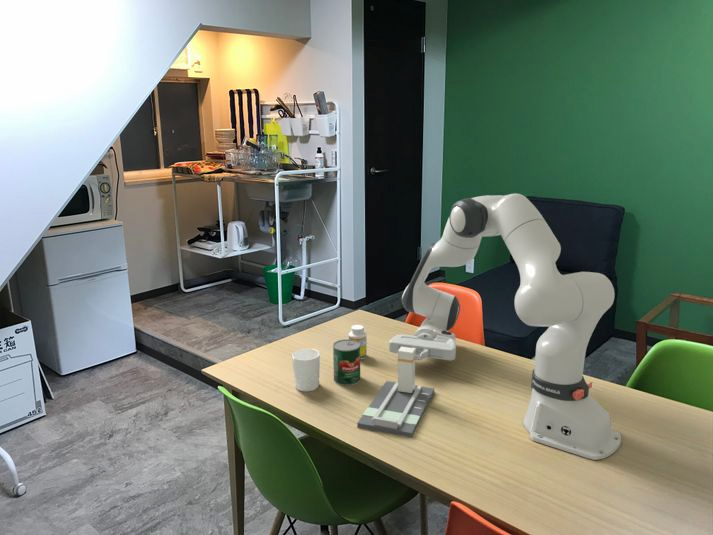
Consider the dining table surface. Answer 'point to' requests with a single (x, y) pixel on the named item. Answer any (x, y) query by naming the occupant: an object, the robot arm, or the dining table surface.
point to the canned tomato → (346, 362)
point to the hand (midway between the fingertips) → (416, 357)
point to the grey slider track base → (396, 410)
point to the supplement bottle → (359, 339)
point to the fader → (406, 369)
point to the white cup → (306, 369)
